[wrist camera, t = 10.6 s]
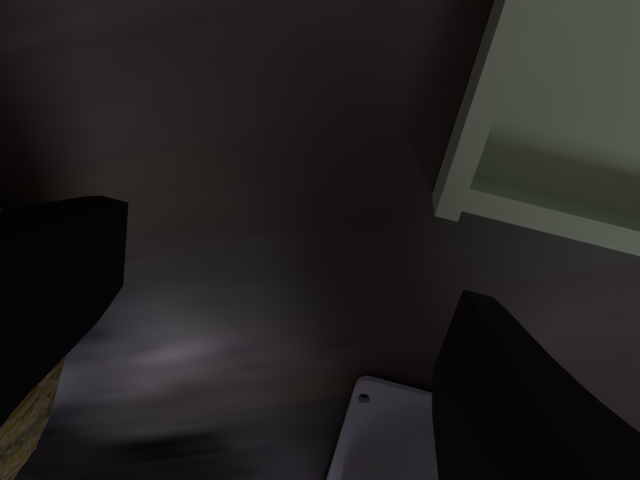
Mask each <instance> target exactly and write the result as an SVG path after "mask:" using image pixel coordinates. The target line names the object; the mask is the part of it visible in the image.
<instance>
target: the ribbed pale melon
mask: <svg viewBox="0 0 640 480" xmlns="http://www.w3.org/2000/svg"><path fill="white" fill-rule="evenodd" d="M1 211H3V210H2V209H1V208H0V212H1ZM64 361H65V357H64V358H63V359H62V360H61V361H60V362H59V363H58V364H57V365H56V366H55V367H54V368H53V369H52V370H51V371H50V372H49V373H48V374H47V375H46V376H45V378H44V379H43V380H42V381H41V382H40V383H39V384H38V385H37V386H36V387H35V388H34V389H33V390H32V391H31V392H30V393H29V394H28V395H27V397H26V398H25V399H24V400H23V401H22V402H21V403H20V404H19V406H18V407H17V408H16V409H15V410H14V411H13V413H12V414H11V415H10V416H9V418H8V419H7V420H6V422H5V423H4V424H3V426H2V427H1V428H0V480H13V479H14V477H16V475H17V473H18V471H19V470H20V468H21V467H22V465H23V464H24V463H25V462H26V461H27V460H28V458H29V456H30V454H31V453H32V452H33V451H34V450H35V449H36V447H37V442H38V440H39V439H40V436H41V434H42V432H43V430H44V427H45V425H46V423H47V421H48V419H49V416H50V414H51V411H52V409H53V405H54V399H55V396H56V391H57V386H58V382H59V378H60V375H61V371H62V368H63V365H64Z"/></svg>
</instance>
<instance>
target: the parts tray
mask: <svg viewBox="0 0 640 480" xmlns="http://www.w3.org/2000/svg"><path fill="white" fill-rule="evenodd" d="M432 198H433V207H434V215H435V216H437V217H441V218H445V219H449V220H453V221H456V222H458V220H459V217H460V214H461V211H463V212H467V213H471V214H475V215H479V216H483V217H487V218H491V219H495V220H499V221H503V222H507V223H511V224H515V225H519V226H523V227H527V228H530V229H534V230H538V231H542V232H546V233H550V234H554V235H558V236H562V237H566V238H570V239H574V240H578V241H582V242H586V243H590V244H594V245H598V246H602V247H606V248H610V249H614V250H618V251H622V252H626V253H630V254H634V255H637V256H640V0H494V3H493V7H492V10H491V13H490V16H489V19H488V22H487V25H486V28H485V31H484V35H483V38H482V41H481V44H480V47H479V50H478V53H477V56H476V60H475V63H474V66H473V69H472V72H471V75H470V78H469V81H468V84H467V88H466V91H465V94H464V97H463V100H462V103H461V106H460V109H459V112H458V116H457V119H456V122H455V125H454V128H453V131H452V134H451V137H450V141H449V144H448V147H447V150H446V153H445V156H444V159H443V162H442V165H441V169H440V172H439V175H438V178H437V181H436V184H435V187H434V190H433V193H432Z"/></svg>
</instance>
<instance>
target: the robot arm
mask: <svg viewBox="0 0 640 480" xmlns="http://www.w3.org/2000/svg"><path fill="white" fill-rule="evenodd" d="M127 216H128V202H124V201H120V200H116V199H112V198H108V197H104V196H86V197H79V198H72V199H66V200H60V201H55V202H50V203H44V204H39V205H34V206H28V207H23V208H18V209H12V210H7V211H1V212H0V428H1V427H2V426H3V424H4V423H5V422H6V420H7V419H8V418H9V416H10V415H11V414H12V413H13V411H14V410H15V409H16V408H17V407H18V406H19V404H20V403H21V402H22V401H23V400H24V399H25V398H26V397H27V395H28V394H29V393H30V392H31V391H32V390H33V389H34V388H35V387H36V386H37V385H38V384H39V383H40V382H41V381H42V380H43V379H44V378H45V376H46V375H47V374H48V373H49V372H50V371H51V370H52V369H53V368H54V367H55V366H56V365H57V364H58V363H59V362H60V361H61V360H62V359H63V358H64V357H65V356H66V355H67V354H68V353H69V352H70V350H71V349H72V348H73V347H74V346H75V345H76V344H77V343H78V342H79V341H80V340H81V339H82V338H83V337H84V336H85V335H86V334H87V333H88V331H89V330H90V329H91V328H92V327H93V326H94V325H95V324H96V323H97V322H98V321H99V319H100V318H101V317H102V315H103V314H104V312H105V311H106V310H107V308H108V307H109V306H110V304H111V303H112V301H113V300H114V298H115V297H116V295H117V294H118V292H119V291H120V289H121V288H122V286H123V278H124V263H125V247H126V232H127ZM361 394H366V395H368V396H369V397H366V398H365V397H361V396H360V395H361ZM326 480H640V432H638V431H637V430H635V429H634V428H633V427H631V426H630V425H629V424H628V423H626V422H625V421H624V420H623V419H621V418H620V417H619V416H618V415H616V414H615V413H614V412H613V411H611V410H610V409H609V408H608V407H606V406H605V405H604V404H603V403H601V402H600V401H599V400H598V399H597V398H595V397H594V396H593V395H592V394H591V393H590V392H588V391H587V390H586V389H585V388H584V387H583V386H582V385H581V384H580V383H579V382H578V381H576V380H575V379H574V378H573V377H572V376H571V375H570V374H569V373H568V372H567V371H566V370H565V369H564V368H562V367H561V366H560V365H559V364H558V363H557V362H556V361H555V360H554V359H553V358H552V357H551V356H550V355H549V354H548V353H547V352H546V351H545V350H544V349H543V348H542V346H541V345H540V344H539V343H538V342H537V341H536V340H535V339H534V338H533V337H532V336H531V335H530V334H529V333H528V332H527V331H526V330H525V329H524V328H523V326H522V325H521V324H520V323H519V322H518V321H517V320H516V319H515V318H514V317H513V316H512V315H511V314H510V313H509V312H508V311H507V310H506V309H505V308H504V307H503V306H502V305H501V304H500V303H499V302H498V301H497V300H496V299H495V298H493V297H490V296H487V295H483V294H479V293H475V292H471V291H467V290H463V292H462V294H461V297H460V300H459V302H458V305H457V308H456V310H455V313H454V315H453V318H452V321H451V323H450V326H449V329H448V331H447V334H446V337H445V339H444V342H443V345H442V347H441V350H440V353H439V355H438V358H437V360H436V363H435V366H434V370H433V387H432V393H431V392H427V391H424V390H420V389H416V388H412V387H409V386H405V385H401V384H398V383H394V382H390V381H386V380H383V379H379V378H375V377H372V376H361V377H360V378H358V380H357V381H356V384H355V387H354V390H353V394H352V397H351V400H350V404H349V407H348V410H347V413H346V417H345V420H344V423H343V427H342V430H341V433H340V436H339V440H338V443H337V446H336V449H335V453H334V456H333V459H332V463H331V466H330V469H329V472H328V476H327V479H326Z"/></svg>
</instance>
